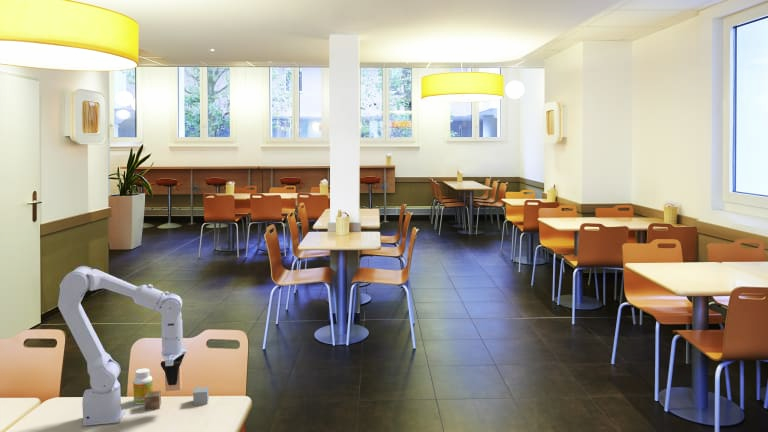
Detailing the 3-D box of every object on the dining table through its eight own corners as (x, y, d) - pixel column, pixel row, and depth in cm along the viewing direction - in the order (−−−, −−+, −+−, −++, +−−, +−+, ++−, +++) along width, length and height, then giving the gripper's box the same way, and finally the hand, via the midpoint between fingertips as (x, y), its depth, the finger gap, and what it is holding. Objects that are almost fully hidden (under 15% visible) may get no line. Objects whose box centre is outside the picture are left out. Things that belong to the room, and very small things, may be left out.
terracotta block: (165, 391, 161) (164, 367, 160) (167, 386, 165) (167, 363, 164) (180, 390, 162) (179, 366, 161) (181, 384, 165) (181, 362, 165)
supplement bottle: (148, 405, 168) (146, 373, 167) (130, 404, 168) (129, 373, 167) (156, 397, 173) (155, 367, 172) (139, 397, 173) (138, 367, 173)
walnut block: (144, 410, 164) (144, 397, 164) (146, 405, 168) (146, 392, 168) (159, 409, 165) (158, 396, 165) (161, 403, 169) (160, 390, 169)
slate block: (193, 405, 168) (193, 392, 167) (195, 400, 172) (194, 387, 171) (207, 404, 169) (207, 391, 168) (208, 399, 172) (208, 386, 172)
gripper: (183, 343, 156) (184, 390, 157) (189, 328, 170) (190, 371, 171) (156, 344, 154) (158, 392, 155) (165, 330, 168) (166, 373, 169)
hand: (173, 381), depth 163 cm, fingers closed on terracotta block, 4 cm apart
